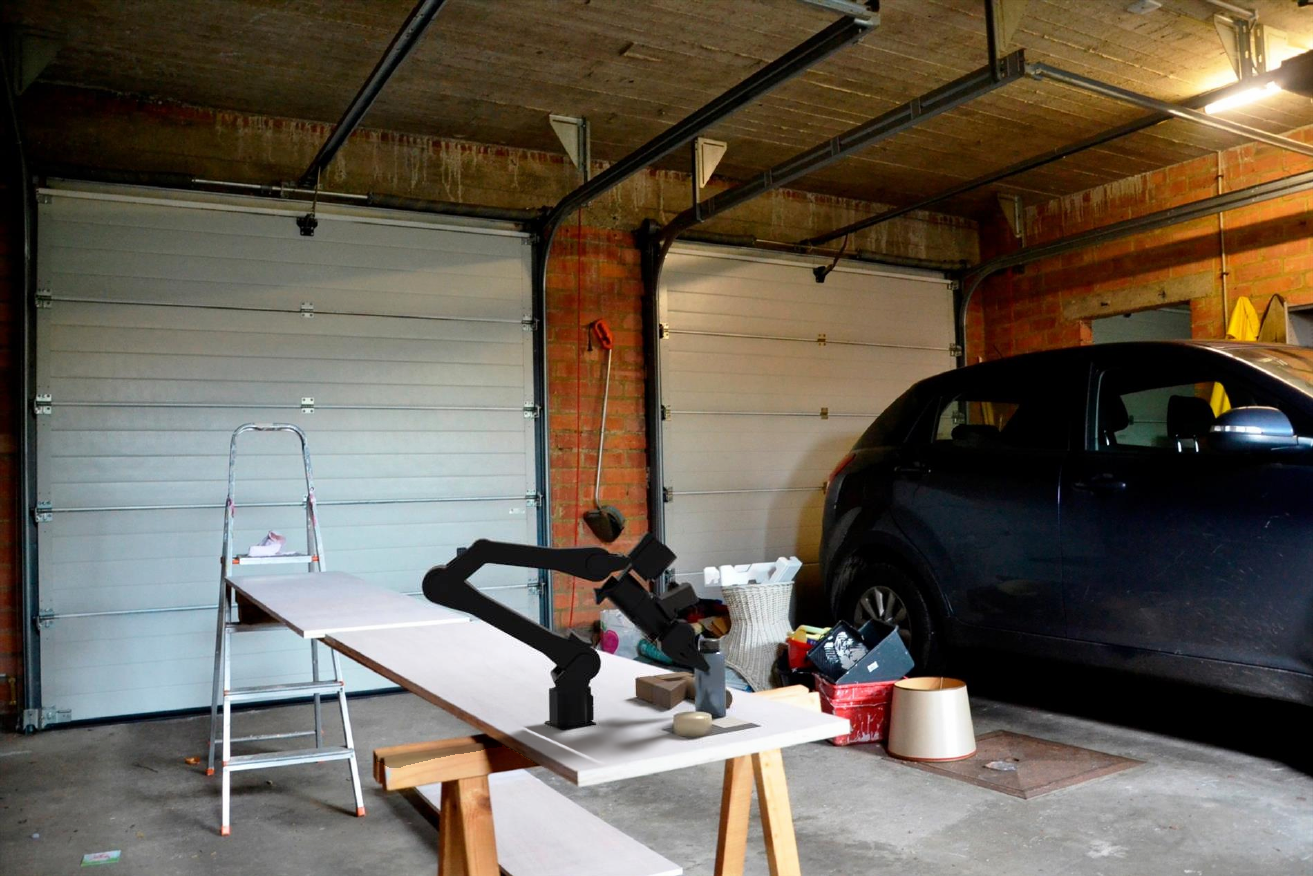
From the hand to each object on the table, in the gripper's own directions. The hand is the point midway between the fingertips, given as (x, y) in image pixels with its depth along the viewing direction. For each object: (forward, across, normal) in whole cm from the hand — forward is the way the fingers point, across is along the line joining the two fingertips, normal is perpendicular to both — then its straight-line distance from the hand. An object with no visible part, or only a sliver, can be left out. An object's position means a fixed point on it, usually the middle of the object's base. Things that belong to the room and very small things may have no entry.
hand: (701, 665), depth 170 cm
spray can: (+7, 0, +5) cm, 9 cm away
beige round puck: (+3, -10, +9) cm, 14 cm away
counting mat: (+6, -8, +7) cm, 12 cm away
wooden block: (+3, +21, +7) cm, 23 cm away
